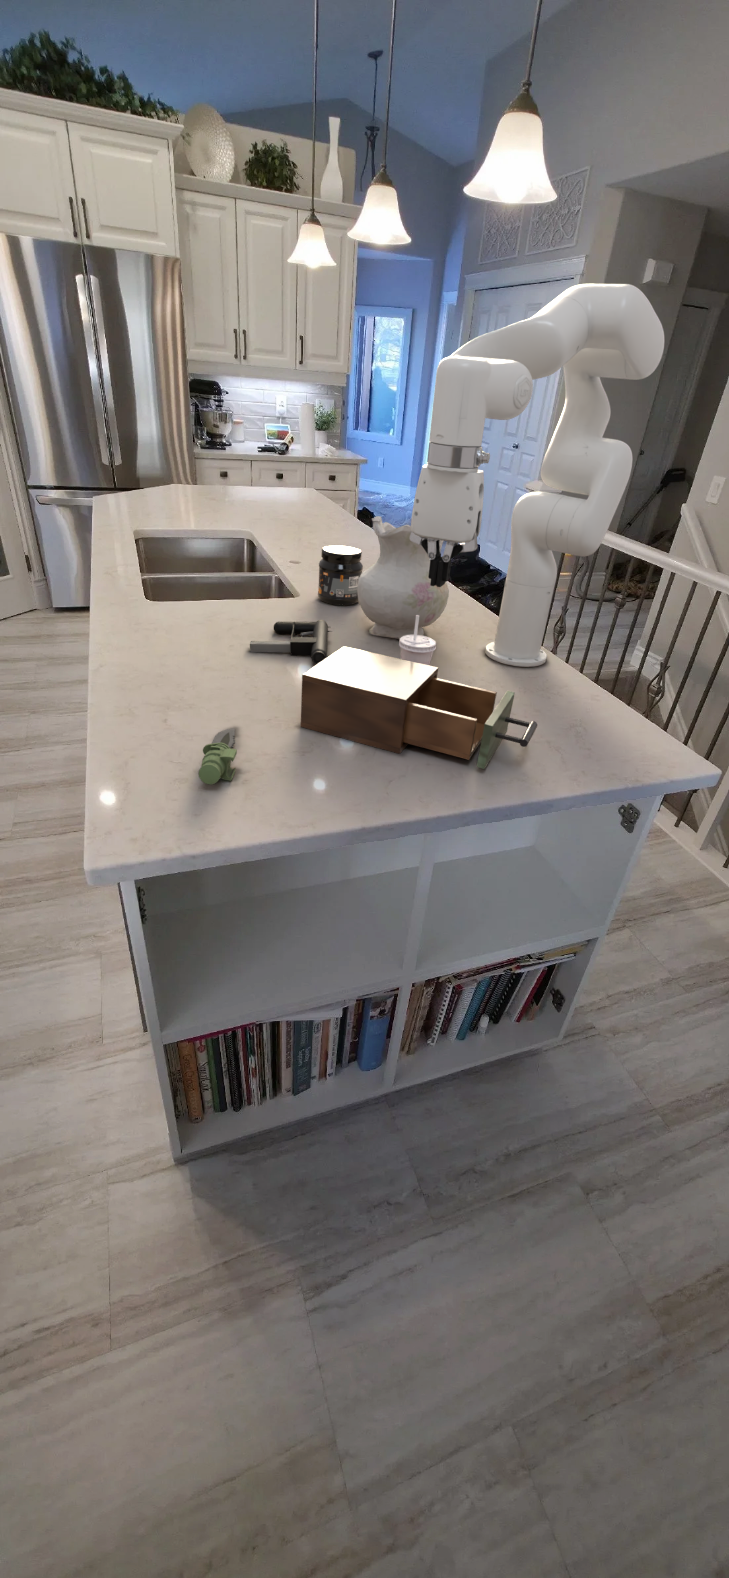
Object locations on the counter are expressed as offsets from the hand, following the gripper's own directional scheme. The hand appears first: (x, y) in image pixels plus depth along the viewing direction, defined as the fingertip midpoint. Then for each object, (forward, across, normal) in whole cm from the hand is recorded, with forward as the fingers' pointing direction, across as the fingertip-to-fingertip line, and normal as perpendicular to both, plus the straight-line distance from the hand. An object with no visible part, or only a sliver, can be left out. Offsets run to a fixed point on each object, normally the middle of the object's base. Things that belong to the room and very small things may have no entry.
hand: (437, 584), depth 108 cm
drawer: (+19, -11, +14) cm, 26 cm away
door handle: (+20, +31, -10) cm, 39 cm away
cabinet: (+20, +5, +14) cm, 25 cm away
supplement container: (+21, +37, -45) cm, 62 cm away
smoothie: (+20, +3, -1) cm, 21 cm away
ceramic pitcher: (+21, +16, -33) cm, 42 cm away
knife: (+20, +18, +35) cm, 44 cm away
